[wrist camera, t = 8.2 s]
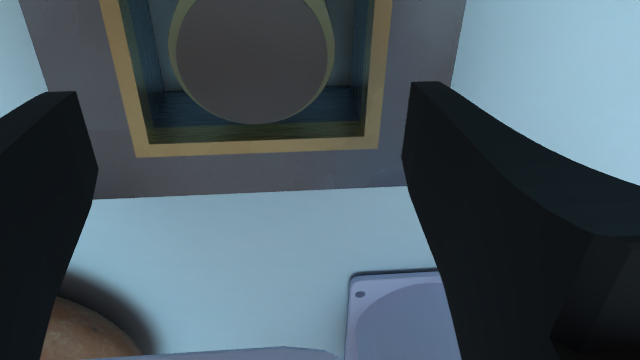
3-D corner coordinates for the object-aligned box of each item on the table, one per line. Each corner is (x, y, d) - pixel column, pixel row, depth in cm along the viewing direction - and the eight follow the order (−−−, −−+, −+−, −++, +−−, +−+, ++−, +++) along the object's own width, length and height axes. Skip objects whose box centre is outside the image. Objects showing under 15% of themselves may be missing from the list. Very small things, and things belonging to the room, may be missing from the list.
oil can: (318, 55, 20) (333, 129, 16) (194, 57, 20) (178, 133, 16) (322, -77, 17) (341, -26, 13) (177, -78, 17) (153, -26, 13)
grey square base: (417, 147, 23) (439, 201, 20) (100, 159, 22) (77, 218, 19) (477, -245, 15) (527, -244, 12) (-20, -254, 14) (-89, -256, 11)
